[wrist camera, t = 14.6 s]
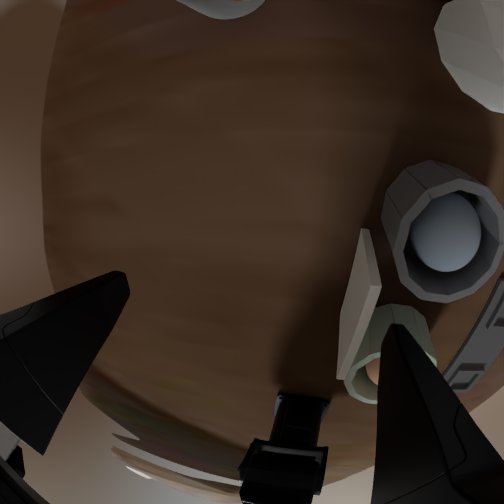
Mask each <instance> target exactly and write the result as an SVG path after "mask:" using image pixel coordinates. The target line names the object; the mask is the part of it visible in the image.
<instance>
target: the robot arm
mask: <svg viewBox="0 0 504 504" xmlns="http://www.w3.org/2000/svg"><path fill="white" fill-rule="evenodd" d="M129 296H130V289H129V285H128V281H127V277H126V274H125V273H124V272H121V271H116V270H115V271H112V272H109V273H106V274H104V275H101V276H99V277H96V278H93V279H91V280H88V281H86V282H83V283H80V284H78V285H75V286H73V287H70V288H68V289H65V290H63V291H60V292H58V293H55V294H53V295H50V296H48V297H45V298H43V299H40V300H38V301H36V302H33V303H30V304H28V305H25V306H23V307H20V308H18V309H15V310H13V311H10V312H7V313H4V314H1V315H0V504H50V503H48V502H47V501H46V500H45V499H44V498H43V497H41V496H40V495H39V494H38V493H37V492H36V491H35V490H33V488H31V487H30V486H29V485H28V484H27V483H26V482H25V481H24V480H23V477H24V475H25V469H24V462H23V454H22V448H21V447H20V446H19V445H18V443H19V442H20V440H22V441H23V442H24V443H26V444H27V445H28V446H29V447H31V448H32V449H33V450H35V451H36V452H37V453H39V454H40V455H41V456H43V455H44V453H45V451H46V449H47V447H48V445H49V443H50V441H51V439H52V437H53V434H54V432H55V430H56V428H57V426H58V424H59V422H60V420H61V419H62V417H63V414H64V412H65V411H66V409H67V407H68V405H69V403H70V401H71V399H72V398H73V396H74V394H75V392H76V390H77V388H78V387H79V385H80V383H81V381H82V380H83V378H84V376H85V374H86V373H87V371H88V369H89V367H90V366H91V364H92V362H93V361H94V359H95V357H96V356H97V354H98V352H99V351H100V349H101V347H102V346H103V344H104V342H105V341H106V339H107V338H108V336H109V334H110V333H111V331H112V329H113V327H114V325H115V324H116V322H117V320H118V318H119V316H120V314H121V312H122V310H123V308H124V306H125V304H126V302H127V300H128V298H129ZM329 406H330V401H327V400H321V399H314V398H307V397H301V396H295V395H290V394H284V393H278V394H277V398H276V403H275V408H274V413H273V418H275V420H274V424H273V428H272V431H271V435H270V438H269V441H265V440H259V439H257V438H255V439H254V441H253V442H252V443H251V444H250V447H249V449H248V452H247V454H246V456H245V458H244V459H243V461H242V463H241V464H240V466H239V467H238V470H237V471H238V473H239V474H240V479H239V481H240V484H242V486H241V489H240V492H239V494H240V498H241V501H242V503H243V504H311V503H312V498H313V495H320V493H321V489H322V485H323V481H324V475H325V469H326V462H327V455H328V447H327V446H324V447H317V442H318V436H319V430H320V424H321V421H322V420H323V418H324V416H325V414H326V412H327V410H328V408H329ZM371 504H504V460H503V459H502V458H501V456H500V455H499V454H498V452H497V451H496V450H495V448H494V447H493V446H492V445H491V443H490V442H489V441H488V439H487V438H486V437H485V435H484V434H483V433H482V431H481V430H480V429H479V427H478V426H477V425H476V423H475V422H474V420H473V419H472V417H471V416H470V415H469V413H468V412H467V410H466V409H465V407H464V406H463V404H462V403H460V400H459V398H458V397H457V396H456V394H455V393H454V391H453V390H452V388H451V387H450V385H449V384H448V383H447V381H446V380H445V378H444V377H443V376H442V374H441V373H440V372H439V370H438V369H437V367H436V366H435V365H434V363H433V362H432V361H431V359H430V358H429V357H428V355H427V354H426V353H425V351H424V350H423V349H422V347H421V346H420V345H419V343H418V342H417V341H416V340H415V338H414V337H413V336H412V334H411V333H410V332H409V331H408V329H407V328H406V327H405V326H404V325H403V324H397V323H392V324H390V326H389V328H388V330H387V332H386V334H385V337H384V339H383V341H382V344H381V351H380V366H379V378H378V389H377V439H376V457H375V470H374V481H373V490H372V498H371Z"/></svg>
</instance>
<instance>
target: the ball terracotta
mask: <svg viewBox="0 0 504 504" xmlns="http://www.w3.org/2000/svg"><path fill="white" fill-rule="evenodd" d="M379 366H380V357H379V358H375V359H373V360H372V361H370V362H369V363H367V364H366V365H365V367H366V371H367V374H368V376H369V378H370V379H371V380H372V381H373V382H374V383H375V384H376V385H378V378H379Z"/></svg>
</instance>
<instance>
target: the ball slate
mask: <svg viewBox="0 0 504 504" xmlns="http://www.w3.org/2000/svg"><path fill="white" fill-rule="evenodd" d="M409 231H410V240H411V244H412V247H413V249H414V251H415V253H416V254H417V256H418V257H419V259H420V260H421V261H422V262H423V263H424V264H426V265H427V266H429V267H430V268H432V269H434V270H438V271H442V272H449V271H455V270H458V269H460V268H462V267H463V266H465V265H466V264H468V263H469V262H470V261H471V259H472V258H473V257H474V255H475V254H476V252H477V250H478V247H479V244H480V239H481V226H480V221H479V218H478V215H477V213H476V211H475V209H474V208H473V206H472V205H471V204H470V203H469V202H468V201H467V200H466V199H465V198H464V197H462V196H460V195H459V194H456V193H454V192H451V193H448V194H446V195H443V196H440V197H437V198H434V199H432V200H431V201H430V202H429V203H428V205H427V206H426V207H425V208H424V209H423V210H422V211H421V213H420V214H419V215H418V216H417V217H416V218H415V219H414V220H413V222H412V223H411V226H410V230H409Z"/></svg>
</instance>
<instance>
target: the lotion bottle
mask: <svg viewBox="0 0 504 504" xmlns="http://www.w3.org/2000/svg"><path fill="white" fill-rule="evenodd" d="M177 1H179V2H181V3H183V4H185V5H187V6H189V7H191V8H192V9H194V10H196V11H198V12H200V13H202V14H204V15H206V16H209V17H212V18H216V19H234V18H238V17H242V16H245V15H247V14H249V13H251V12H253V11H254V10H256V9H257V8H258V7H260V6H261V5H262V4H263V3H264V1H265V0H177Z"/></svg>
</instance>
